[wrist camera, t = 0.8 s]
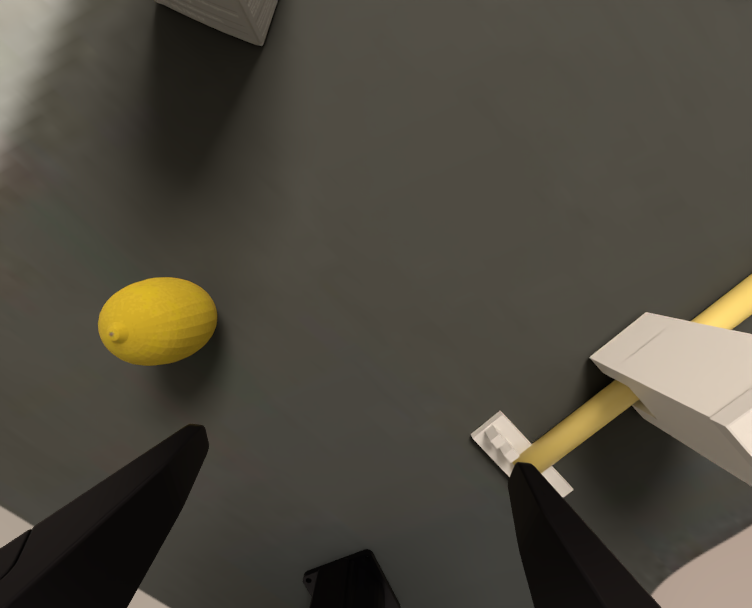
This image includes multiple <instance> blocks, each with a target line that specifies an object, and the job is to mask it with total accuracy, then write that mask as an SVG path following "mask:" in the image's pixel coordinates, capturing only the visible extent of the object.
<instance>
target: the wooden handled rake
mask: <svg viewBox="0 0 752 608" xmlns="http://www.w3.org/2000/svg"><path fill="white" fill-rule="evenodd" d="M750 315H752V274H751V275H750V276H748V277H747V278H746V279H744V280H743V281H742V282H741V283H739V284H738V285H737V286H735V287H734V288H733V289H732V290H730V291H729V292H728V293H726V294H725V295H724V296H723V297H721V298H720V299H719V300H717V301H716V302H715V303H714V304H712V305H711V306H710V307H708V308H707V309H706V310H704V311H703V312H702V313H701V314H699V315H698V316H697V317H695V318H694V319H693V320H692V321H690V322H695V323H700V324H705V325H710V326H714V327H719V328H724V329H729V330H732V329H733V328H734V327H736V326H737V325H738V324H740V323H741V322H742V321H744V320H745V319H746V318H748V317H749V316H750ZM638 400H639V398H638V397H637V396H636V395H635V394H634V393H633V391H632V390H631V389H630V388H629V387H628V386H626V385H625V384H623V383H621V382H619V381H617V380H614V381H613V382H612V383H610V384H609V385H608V386H606V387H605V388H604V389H603V390H601V391H600V392H599V393H597V394H596V395H595V396H594V397H592V398H591V399H590V400H588V401H587V402H586V403H585V404H583V405H582V406H581V407H579V408H578V409H577V410H576V411H574V412H573V413H572V414H570V415H569V416H568V417H566V418H565V419H564V420H563V421H561V422H560V423H559V424H557V425H556V426H555V427H554V428H552V429H551V430H550V431H548V432H547V433H546V434H545V435H543V436H542V437H541V438H539V439H538V440H537V441H536V442H534V443H533V444H531V443H530V442H529V441H528V439H527V438H526V437H525V436H524V435H523V434H522V433H521V432H520V431H519V430H518V429H517V428H516V427H515V426H514V424H513V423H512V422H511V421H510V420H509V419H508V418H507V417H506V416H505V415H504V414H503V413H502V412H501V411H499V412H498V413H496V414H495V415H494V416H493V417H492V418H490V419H489V420H488V421H487V422H485V423H484V424H483V425H482V426H480V427H479V428H478V429H477V430H475V431H474V432H473V433H472V434H471V436H472V438H473V439H474V440H475V441H476V443H477V444H478V445H479V446H480V447H481V448H482V449H483V450H484V451H485V452H486V453H487V454H488V455H489V456H490V457H491V458H492V459H493V460H494V461H495V463H496V464H497V465H498V466H499V467H500V468H501V469H502V470H503V471H504V472H505V473H506V474H507V475H508V476H509V477H510V475H511V473H512V470H513V468H514V465H515V463H517V462H525V463H531V464H532V465H534V466H535V467H536V468H537V469H538V471H539V472H540V473H541V474H542V475H543V476H544V477H545V478H546V479H547V481H548V482H549V483H550V484H551V485H552V486H553V487H554V488H555V490H556V491H557V492H558V493H559V494H560V495H561V496H562V497H565V496H566V495H567V494H569V493H570V492H571V491H573V488H572V487H571V486H570V485H569V483H568V482H567V481H566V480H565V479H564V478H563V477H562V476H561V475H560V474H559V473H558V472H557V471H556V469H555V468H554V467H553V466H552V465H553V464H555V463H556V462H557V461H559V460H560V459H561V458H563V457H564V456H565V455H567V454H568V453H569V452H571V451H572V450H573V449H574V448H576V447H577V446H578V445H580V444H581V443H582V442H584V441H585V440H586V439H588V438H589V437H590V436H592V435H593V434H594V433H596V432H597V431H598V430H600V429H601V428H602V427H604V426H605V425H606V424H608V423H609V422H610V421H612V420H613V419H614V418H615V417H617V416H618V415H619V414H621V413H622V412H623V411H625V410H626V409H627V408H629V407H630V406H631V405H633V404H634V403H635V402H637V401H638Z"/></svg>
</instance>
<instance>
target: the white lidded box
mask: <svg viewBox="0 0 752 608" xmlns="http://www.w3.org/2000/svg"><path fill="white" fill-rule="evenodd" d="M589 358H590V359H591V360H592V361H593V362H594V364H595V365H596V366H597V367H598V368H599V369H600V370H601V371H602V373H604V374H606V375H608V376H610V377H611V378H613V379H615V380H617V381H619V382H621V383H623V384H625V385H626V386H628V387H629V388H630V389H631V390H632V391H633V393H634V394H635V395H636V396H637V397H638V398H639V400H638V401H637V402H635V403H634V404H633V405H632V406H633V407H634V409H635V410H636V411H637V412H638V413H639V414H640V415H641V416H642V418H644V419H645V420H647V421H648V422H650V423H652V424H653V425H655V426H656V427H658V428H659V429H661V430H663V431H664V432H666V433H667V434H669V435H671V436H672V437H674V438H675V439H677V440H679V441H680V442H682V443H683V444H685V445H686V446H688V447H690V448H691V449H693V450H694V451H696V452H698V453H699V454H701V455H702V456H704V457H706V458H707V459H709V460H710V461H712V462H713V463H715V464H717V465H718V466H720V467H721V468H723V469H725V470H726V471H728V472H729V473H731V474H733V475H734V476H736V477H737V478H739V479H740V480H742V481H744V482H745V483H747V484H748V485H750V486H752V334H748V333H743V332H738V331H734V330H729V329H724V328H719V327H714V326H710V325H705V324H700V323H695V322H690V321H686V320H681V319H676V318H671V317H666V316H662V315H657V314H652V313H647V312H646V313H644V314H643V315H642V316H641V317H639V318H638V319H637V320H636V321H634V322H633V323H632V324H631V325H629V326H628V327H627V328H626V329H624V330H623V331H622V332H621V333H619V334H618V335H617V336H615V337H614V338H613V339H612V340H610V341H609V342H608V343H607V344H605V345H604V346H603V347H602V348H600V349H599V350H598V351H597V352H595V353H594V354H593V355H592V356H590V357H589Z"/></svg>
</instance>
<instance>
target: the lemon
mask: <svg viewBox="0 0 752 608" xmlns="http://www.w3.org/2000/svg"><path fill="white" fill-rule="evenodd" d="M216 325H217V310H216V307H215V304H214V302H213V300H212V299H211V297H210V296H209V294H208V293H207V292H206V291H204V290H203V289H202V288H201V287H199V286H198V285H196V284H194V283H192V282H190V281H187V280H183V279H178V278H171V277H160V278H151V279H147V280H143V281H140V282H136V283H133V284H131V285H128V286H127V287H125V288H123V289H121V290H120V291H118V292H117V293H115V294H114V295H113V296H112V297H111V298H110V299H109V300H108V301H107V302H106V303H105V305H104V306H103V308H102V310H101V313H100V316H99V321H98V329H99V334H100V337H101V340H102V342H103V343H104V345H105V347H106V348H107V349H108V350H109V351H110V352H111V353H112V354H114V355H115V356H117V357H118V358H120V359H121V360H123V361H126V362H129V363H132V364H137V365H145V366H153V365H161V364H168V363H173V362H176V361H179V360H181V359H184V358H186V357H188V356H190V355H192V354H194V353H195V352H197V351H198V350H199V349H200V348H202V347H203V346H204V345H205V344H206V343H207V342H208V340H209V339H210V338H211V336H212V335H213V333H214V330H215V328H216Z"/></svg>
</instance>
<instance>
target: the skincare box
mask: <svg viewBox="0 0 752 608" xmlns="http://www.w3.org/2000/svg"><path fill="white" fill-rule="evenodd" d="M155 2H157V3H159V4H163V5H165V6H167V7H169V8H171V9H173V10H175V11H177V12H180V13H182V14H184V15H186V16H188V17H190V18H192V19H194V20H197V21H199V22H201V23H203V24H205V25H208V26H210V27H212V28H215V29H217V30H219V31H222V32H224V33H227V34H229V35H231V36H234V37H237V38H239V39H242V40H244V41H247V42H250V43H252V44H255V45H260V46H262V45H263V44H264V41H265V38H266V35H267V32H268V29H269V26H270V23H271V20H272V17H273V14H274V11H275V8H276V5H277V2H278V0H155Z"/></svg>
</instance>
